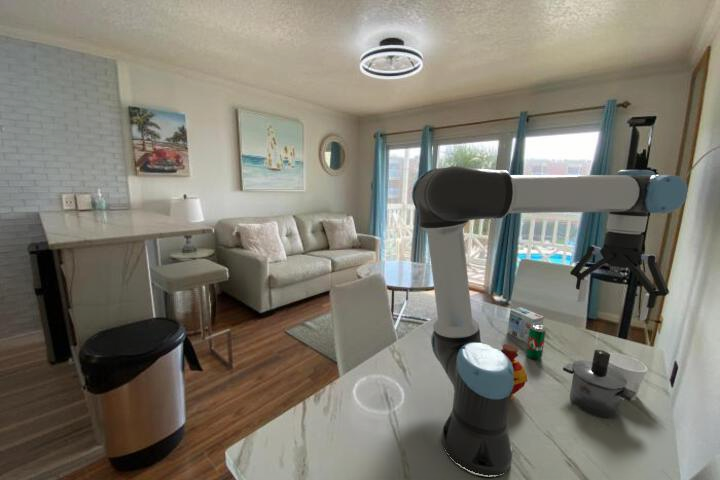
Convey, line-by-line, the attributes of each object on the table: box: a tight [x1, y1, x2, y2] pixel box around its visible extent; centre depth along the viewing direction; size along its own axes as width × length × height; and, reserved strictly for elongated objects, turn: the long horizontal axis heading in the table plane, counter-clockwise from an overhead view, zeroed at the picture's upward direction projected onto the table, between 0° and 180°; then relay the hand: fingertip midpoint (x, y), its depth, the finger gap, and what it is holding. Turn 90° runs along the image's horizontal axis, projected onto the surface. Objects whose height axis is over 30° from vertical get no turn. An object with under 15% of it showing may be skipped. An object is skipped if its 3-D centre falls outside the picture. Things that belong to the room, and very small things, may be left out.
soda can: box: [525, 324, 546, 361], centre depth 110 cm, size 5×5×12 cm
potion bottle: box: [500, 343, 528, 401], centre depth 89 cm, size 10×10×15 cm
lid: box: [572, 349, 627, 390], centre depth 85 cm, size 12×12×7 cm
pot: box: [562, 362, 637, 420], centre depth 86 cm, size 11×16×9 cm
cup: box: [608, 352, 648, 402], centre depth 92 cm, size 10×10×10 cm
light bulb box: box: [506, 307, 545, 344], centre depth 125 cm, size 11×7×11 cm, turn 25°
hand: (609, 309), depth 82 cm, fingers open, 13 cm apart
